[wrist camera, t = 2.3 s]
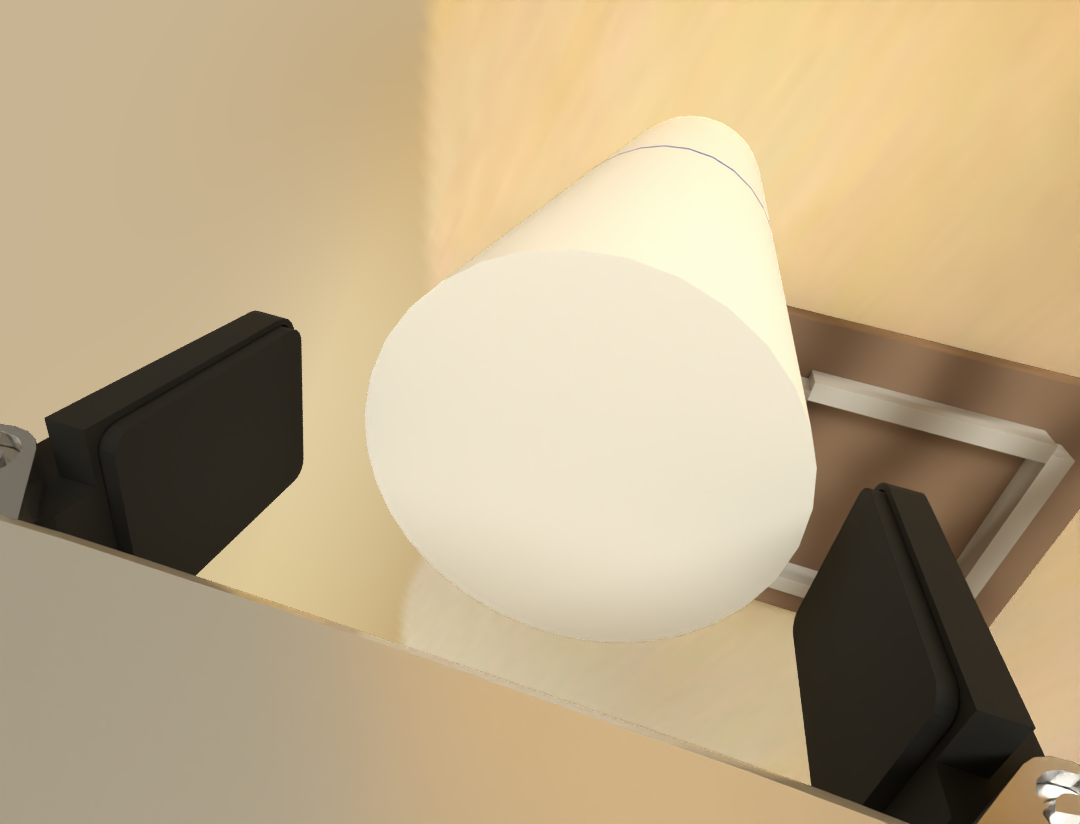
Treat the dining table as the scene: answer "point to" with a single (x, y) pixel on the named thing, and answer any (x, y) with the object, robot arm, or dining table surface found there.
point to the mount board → (936, 449)
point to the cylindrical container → (607, 402)
